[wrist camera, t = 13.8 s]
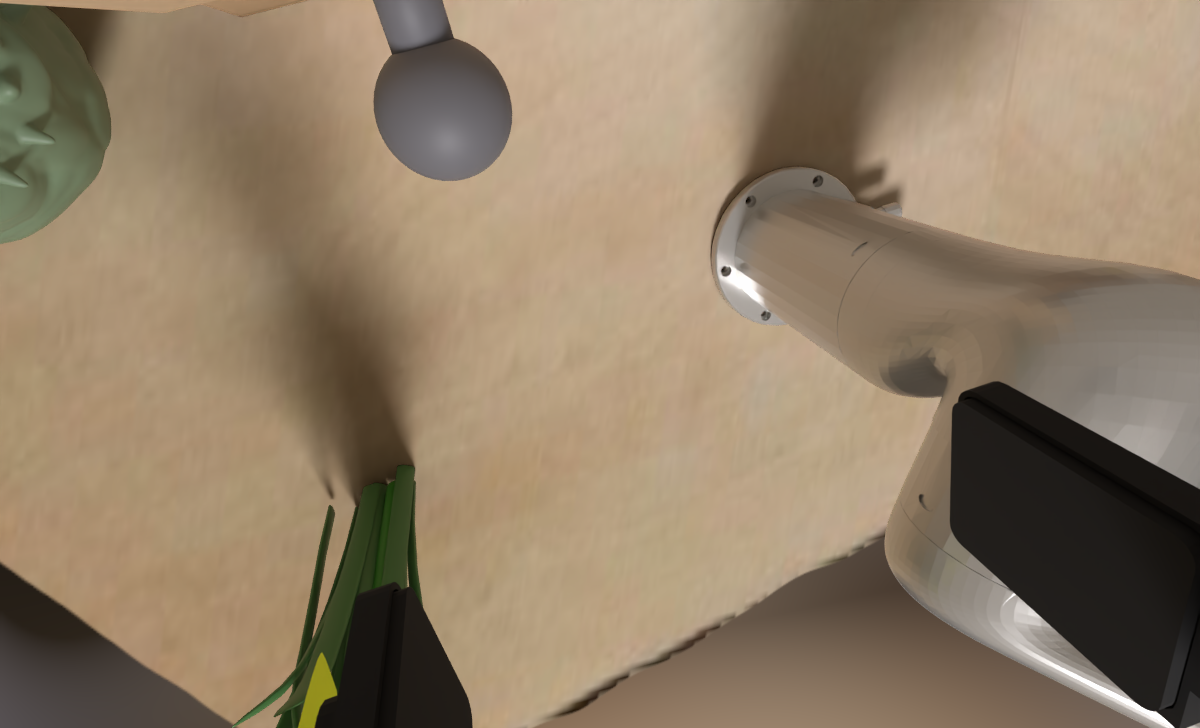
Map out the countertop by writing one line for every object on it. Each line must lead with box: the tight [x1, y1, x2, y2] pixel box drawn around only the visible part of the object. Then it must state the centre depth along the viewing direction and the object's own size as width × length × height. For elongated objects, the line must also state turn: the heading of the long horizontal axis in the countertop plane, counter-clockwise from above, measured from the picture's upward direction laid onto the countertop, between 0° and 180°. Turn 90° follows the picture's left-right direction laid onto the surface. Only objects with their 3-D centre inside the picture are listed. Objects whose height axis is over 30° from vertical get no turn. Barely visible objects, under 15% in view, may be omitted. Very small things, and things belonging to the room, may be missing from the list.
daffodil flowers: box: [232, 465, 423, 728], centre depth 37 cm, size 17×15×35 cm
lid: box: [0, 0, 512, 181], centre depth 23 cm, size 20×16×8 cm
